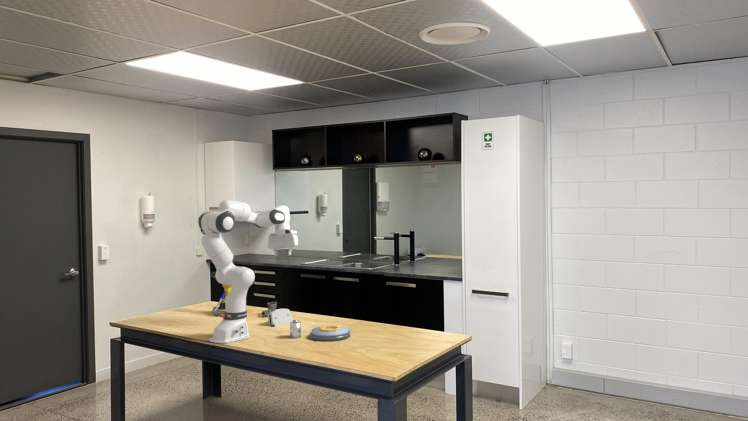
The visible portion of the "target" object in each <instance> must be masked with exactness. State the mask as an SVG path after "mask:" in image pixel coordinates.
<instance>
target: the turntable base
mask: <svg viewBox="0 0 748 421" xmlns="http://www.w3.org/2000/svg"><path fill="white" fill-rule="evenodd" d="M350 337H351V331H350V330H349V329H348V333H347V334H346V335H343V336H338V337H318V336H314V335H312V331H310V333H309V339H310V340H312V341H315V342H322V343H323V342H324V343H326V342H327V343H329V342H330V343H331V342H340V341H344V340H347V339H349V338H350Z"/></svg>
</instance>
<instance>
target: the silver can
mask: <svg viewBox="0 0 748 421" xmlns="http://www.w3.org/2000/svg"><path fill="white" fill-rule="evenodd" d="M289 337H290V339H300V338H302V322H301V321H299V319H294V320H292V322H290V323H289Z"/></svg>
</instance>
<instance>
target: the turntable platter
mask: <svg viewBox="0 0 748 421" xmlns="http://www.w3.org/2000/svg"><path fill="white" fill-rule="evenodd" d="M348 330H349V328H348V327H346V326H341V325H324V326H317V327H314V328H312V329H311V332H312V335H314V336H318V337H338V336H343V335H346V334H347V333H348Z"/></svg>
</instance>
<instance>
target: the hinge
mask: <svg viewBox="0 0 748 421" xmlns="http://www.w3.org/2000/svg"><path fill="white" fill-rule="evenodd" d="M267 317H268V318H267V319H268V326H269V327H271V326H274V328H276V327H280V326H284V325H287V324H290V322H292V320H295V319H294V318H293V316H292V314H291V311H290V309H288V308H278V309H277V308H276V310H275V311H273V312H271V313H270V314H268V316H267Z"/></svg>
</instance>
